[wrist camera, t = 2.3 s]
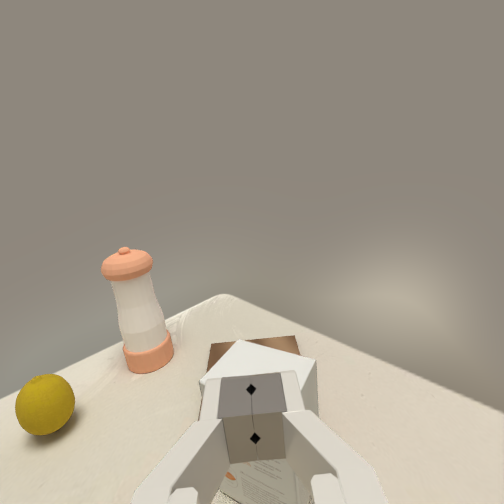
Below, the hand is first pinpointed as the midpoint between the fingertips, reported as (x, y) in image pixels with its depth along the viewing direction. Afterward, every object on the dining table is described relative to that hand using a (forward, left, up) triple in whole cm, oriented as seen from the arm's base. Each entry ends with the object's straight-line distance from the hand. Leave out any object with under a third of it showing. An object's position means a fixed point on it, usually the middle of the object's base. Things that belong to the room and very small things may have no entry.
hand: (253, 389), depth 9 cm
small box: (0, +11, -22) cm, 25 cm away
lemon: (-26, +19, -22) cm, 39 cm away
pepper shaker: (-18, +31, -22) cm, 42 cm away
